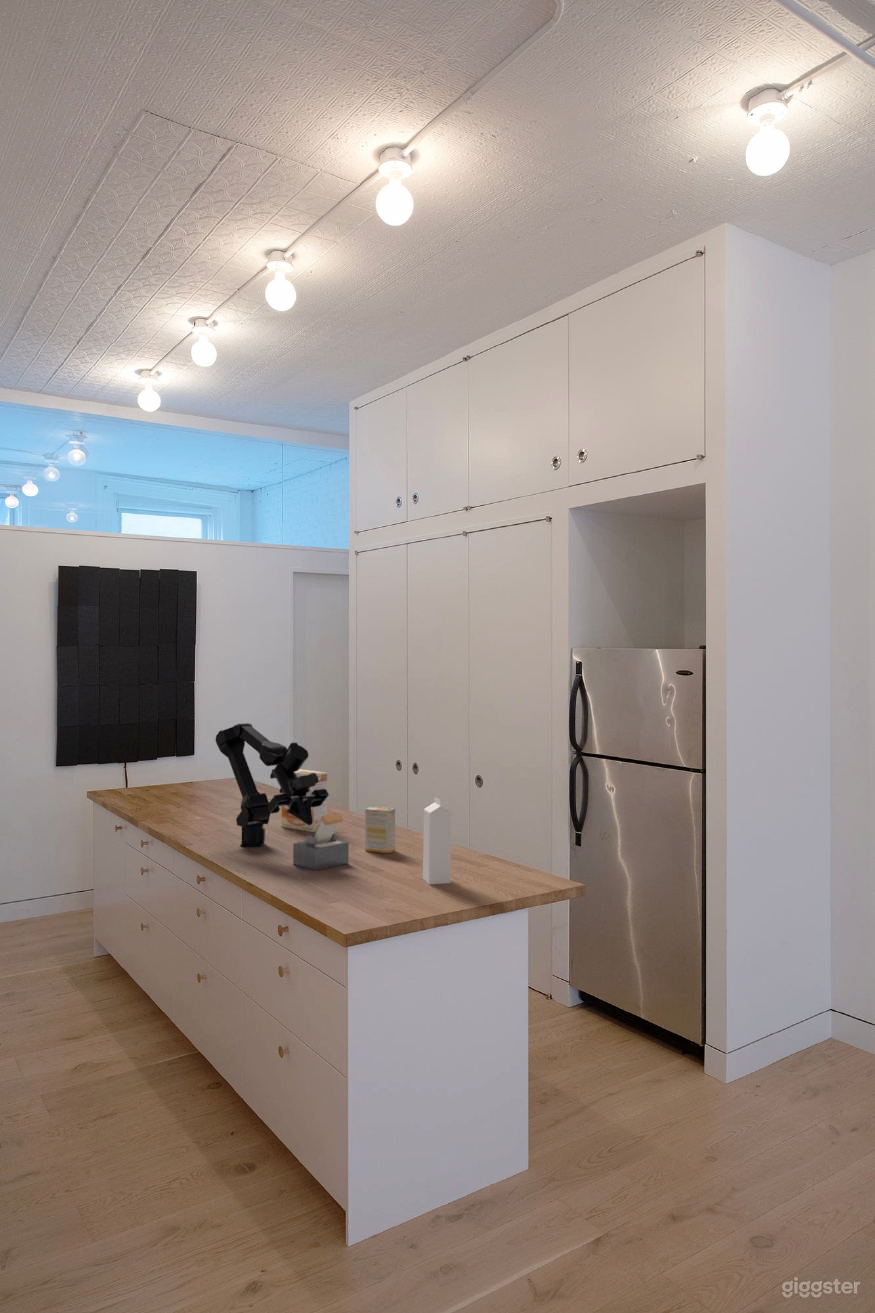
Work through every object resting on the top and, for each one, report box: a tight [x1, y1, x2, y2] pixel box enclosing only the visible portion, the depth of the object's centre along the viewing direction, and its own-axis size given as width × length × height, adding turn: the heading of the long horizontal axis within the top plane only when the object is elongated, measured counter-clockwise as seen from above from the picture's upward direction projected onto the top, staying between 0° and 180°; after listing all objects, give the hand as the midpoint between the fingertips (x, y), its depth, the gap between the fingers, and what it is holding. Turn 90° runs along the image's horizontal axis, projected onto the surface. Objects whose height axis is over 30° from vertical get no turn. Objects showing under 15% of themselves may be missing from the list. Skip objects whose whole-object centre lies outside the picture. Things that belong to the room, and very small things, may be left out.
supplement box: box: [364, 806, 396, 854], centre depth 269 cm, size 8×5×13 cm, turn 65°
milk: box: [422, 796, 452, 886], centre depth 235 cm, size 6×6×22 cm
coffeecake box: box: [280, 768, 328, 833], centre depth 302 cm, size 15×7×20 cm, turn 55°
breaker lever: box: [313, 812, 344, 843], centre depth 250 cm, size 2×6×9 cm
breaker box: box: [292, 832, 350, 871], centre depth 252 cm, size 10×12×8 cm
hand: (310, 824), depth 256 cm, fingers closed
